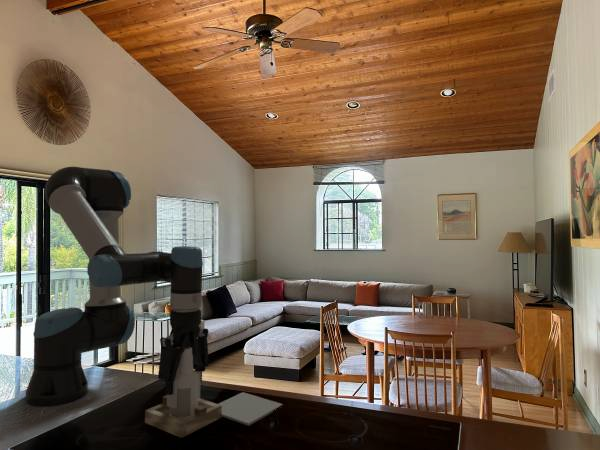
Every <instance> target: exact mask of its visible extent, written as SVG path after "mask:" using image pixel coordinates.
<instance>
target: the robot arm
mask: <svg viewBox="0 0 600 450" xmlns="http://www.w3.org/2000/svg"><path fill="white" fill-rule="evenodd" d="M131 198H132V188H131V185H130V183H129V180H128V179H127V177H125V175H124V174H123V173H122V172H119V171H113V170H111V169H100V168H88V167H80V166H66V167H63V168H62V167H61V168H60V169H58V170H56V171H55V172H54V173H52V174H51V175H50V177H48V179H47V181H46V183H45V186H44V199H45V200H46V203H47V205H48V206H49V208H50V209H51V211H53V212H54V213H56V214H58V215H59V216H60V217H61V219H62V220H63V222H64V224H65V226H66V227H67V228H68V229H69V230H70V232H71V233H72V236H73V237H74V238H75V240H76V241H77V243H78V244H79V245H80V247H81V249H82V251H83V252H84V253H85V255H86V257H87V258H88V263H87V268H86V269H87V276H88V280H89V299H88V300H87V301H86V302H85V303H84V311H83V310H82V309H81V308H80V307H66V308H58V309H54V310H50V311H48V312H45V313H43V314H41V315H40V316H38V317H37V318H36V319H35V320H34V321H35V322H34V330H33V372H32V374H31V377H30V379H29V382H28V386H27V388H26V390H25V402H26V403H27V404H29V405H32V406H36V407H39V406H41V407H46V406H49V407H50V406H57V405H62V404H67V403H71V402H73V401H76V400H78V399H80V398H83V397H84V396H85V395H86V394H87V393H88V390H89V389H88V388H89V387H88V386H89V384H88V380H87V378H86V374H85V371H84V369H83V367H82V354H83V353H88V352H92V351H96V350H101V349H107V348H114V347H116V346H119V345H123V344H125V343H127V342H128V341H129V340H130V338H131V337H132V335H133V334H134V330H135V325H136V319H135V318H136V317H135V313H134V311H133V309H132V307H131V306H129V305H127V300H126V299H125V298H123V297H122V295H121V287H122V286H123V287H124V286H128V285H138V284H141V285H142V284H147V283H158V282H159V283H161V282H163V283H170V299H169V307H170V309H171V310H170V311H169V325H170V327H171V330H170V332H169V335H168V336H166V337H161V338H159V342H160V356H159V365H158V375H157V378H158V380H160V381H164V382H165V385H164V386H165V387H164V392H165V394H166V395H167V406H169V407H171V408H174V409H175V408H177V380H175V377H176V373H177V369H178V366H179V362H180V359H181V355H182V353H183V352H184V350H185V348H186V347H188V346H190V347H191V348H192V355H193V370H194V371H196V372H197V373H198V398H201V383H202V382H203V372H204V373H205V371H206V370H207V369H206V367H208V366H209V363H210V361H209V348H208V347H209V346H208V336H209V329H208V328H205V327H201V326H200V325H201V323H202V310H201V308H202V297H203V296H202V295H203V294H202V291H203V287H202V286H203V267H204V266H203V265H204V261H203V251H202V248H201V247H198V246H189V245H188V246H185V245H184V246H174V247H172V248H171V252H166V251H165V252H164V251H160V250H158V251H150V252H149V251H148V252H143V253H142V252H141V253H126V252H125V251H124V250H123V248H122V246H120V229H119V227H120V226H119V219H120V218H121V216H122V215H124V209H126V208H127V207H128V206H129V205H130V202H131ZM172 341H173V343H172ZM177 347H179V348H177ZM170 375H171V376H170Z"/></svg>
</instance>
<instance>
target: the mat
mask: <svg viewBox="0 0 600 450" xmlns="http://www.w3.org/2000/svg"><path fill="white" fill-rule="evenodd" d="M217 404H218V405H221V406H222V417H221V418H225V419H228V420H231V421H234V422H237V423H240V424H243V425H245V426H251V425H253V424H254V423H256V422H257V421H260V420H261V419H264V418H265V417H267V416H269V415H270V414H271V413H274V412H275V411H277V410H278V409H277V408H279V407H280V406H282V407H283V403H280V402H277V401H274V400H271V399H267V398H263V397H260V396H257V395H253V394H250V393H246V392H244V391H243V392H240V393H238V394H236V395H234V396H232V397H230V398H228V399H225V400H223V401H221V402H219V403H217ZM280 408H281V407H280ZM280 408H279V409H280ZM276 409H277V410H276ZM274 410H275V411H274ZM273 411H274V412H273Z"/></svg>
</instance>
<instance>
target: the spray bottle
mask: <svg viewBox="0 0 600 450" xmlns="http://www.w3.org/2000/svg"><path fill="white" fill-rule="evenodd" d="M178 348H179V347H178ZM194 370H195V369H194V368H193V355H192V348H191V347H190V346H188V347H186V348H185V350H184V352H183V353H182V355H181V359H180V362H179V366H178V369H177V373H176V377H175V380H177V408H175V409H174V408H171V407H170V413H169V416H171V417H174V418H177V419H179V420H182V421H183V420H185V419H187V418H189V417H191V416H193V415H195V408H196V407H198V373H197V372H196V371H194Z"/></svg>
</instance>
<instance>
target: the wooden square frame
mask: <svg viewBox="0 0 600 450" xmlns="http://www.w3.org/2000/svg"><path fill="white" fill-rule="evenodd" d="M218 404H219V403H215V402H212V401H209V400H206V399H203V398H201V397H200V398H198V407H196V408H195V415H193V416H191V417H189V418H187V419H185V420H183V421H182V420H179V419H177V418H174V417H171V416H169V413H170V407H169V406H167V394H166V395H164V396H162V403H160V404H158V405H155V406H152V407H150V408H148V409H146V410H144V423H145V424H146V425H149V426H152V427H154V428H157V429H159V430H162V431H163V432H166V433H169V434H172V435H173V436H176V437H179V438H181V439H182V438H185V437H186V436H188V435H190V434H192V433H194V432H196V431H198V430H200V429H202V428H205V427H206V426H208V425H209V424H211V423H213V422H216V421H218V420H220V419H221V418H223V417H222V406H221V405H218Z"/></svg>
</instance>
